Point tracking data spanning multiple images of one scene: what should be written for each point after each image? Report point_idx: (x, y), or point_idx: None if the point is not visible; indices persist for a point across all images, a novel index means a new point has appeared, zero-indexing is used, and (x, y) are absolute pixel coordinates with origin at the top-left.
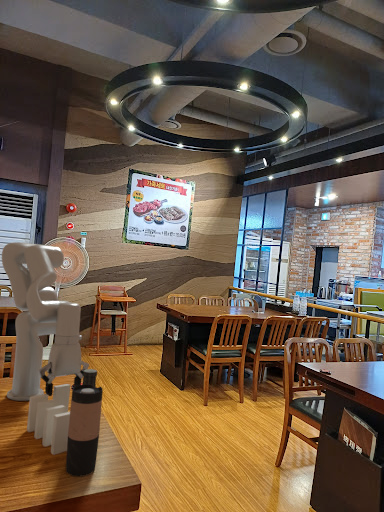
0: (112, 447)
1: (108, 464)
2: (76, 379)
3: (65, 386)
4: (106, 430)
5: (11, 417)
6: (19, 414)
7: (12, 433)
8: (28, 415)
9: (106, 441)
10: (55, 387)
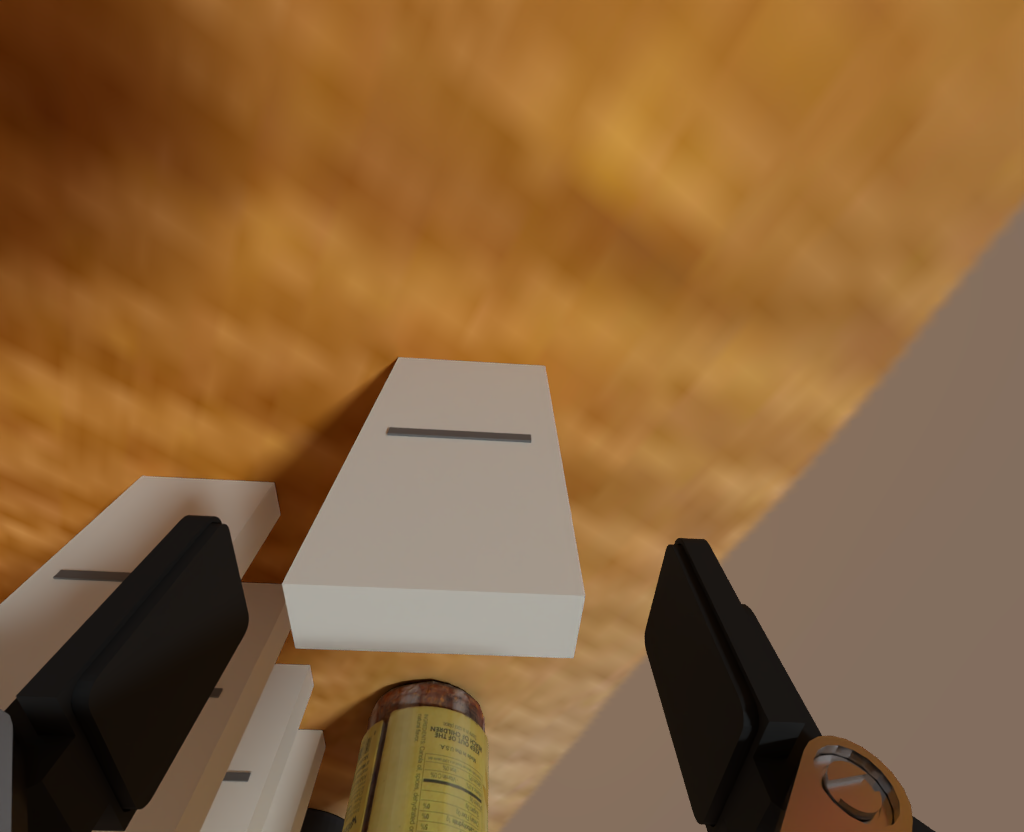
0: (500, 799)
1: None
2: (713, 759)
3: (480, 645)
4: (595, 700)
5: (7, 129)
6: (103, 93)
7: (30, 467)
8: (50, 565)
9: (513, 764)
10: (294, 627)
